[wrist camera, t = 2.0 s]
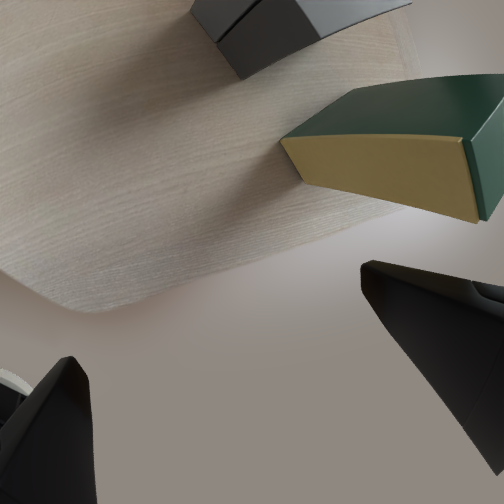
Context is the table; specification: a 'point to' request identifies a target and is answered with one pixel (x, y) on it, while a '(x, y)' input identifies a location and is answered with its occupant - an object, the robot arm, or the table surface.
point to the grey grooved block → (279, 26)
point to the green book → (411, 144)
